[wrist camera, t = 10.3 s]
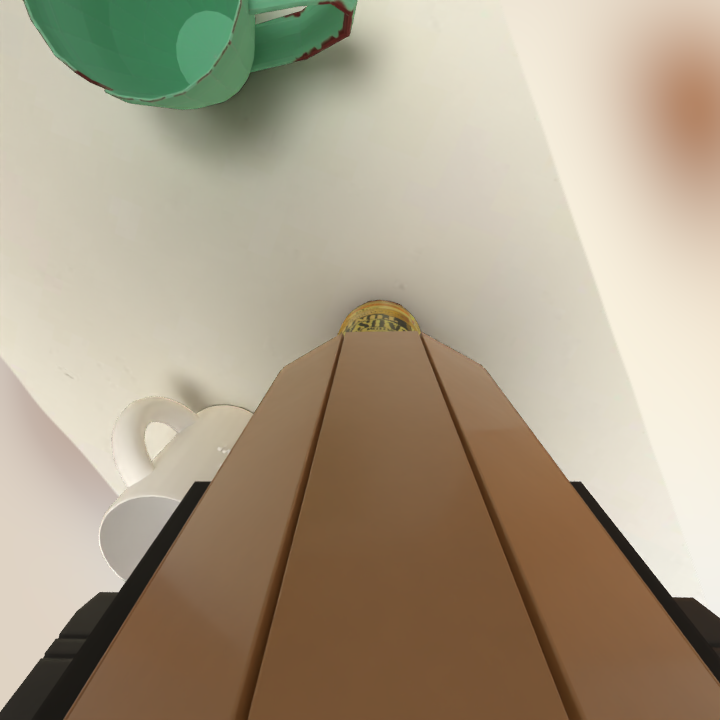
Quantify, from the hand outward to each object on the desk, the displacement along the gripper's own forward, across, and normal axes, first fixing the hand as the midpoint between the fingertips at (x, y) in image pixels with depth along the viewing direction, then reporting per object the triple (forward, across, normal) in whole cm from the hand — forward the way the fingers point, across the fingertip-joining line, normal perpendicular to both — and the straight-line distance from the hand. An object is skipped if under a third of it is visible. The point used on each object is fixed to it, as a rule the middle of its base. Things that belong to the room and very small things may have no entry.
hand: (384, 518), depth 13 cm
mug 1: (+21, -8, +19) cm, 29 cm away
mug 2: (+21, -14, -8) cm, 26 cm away
